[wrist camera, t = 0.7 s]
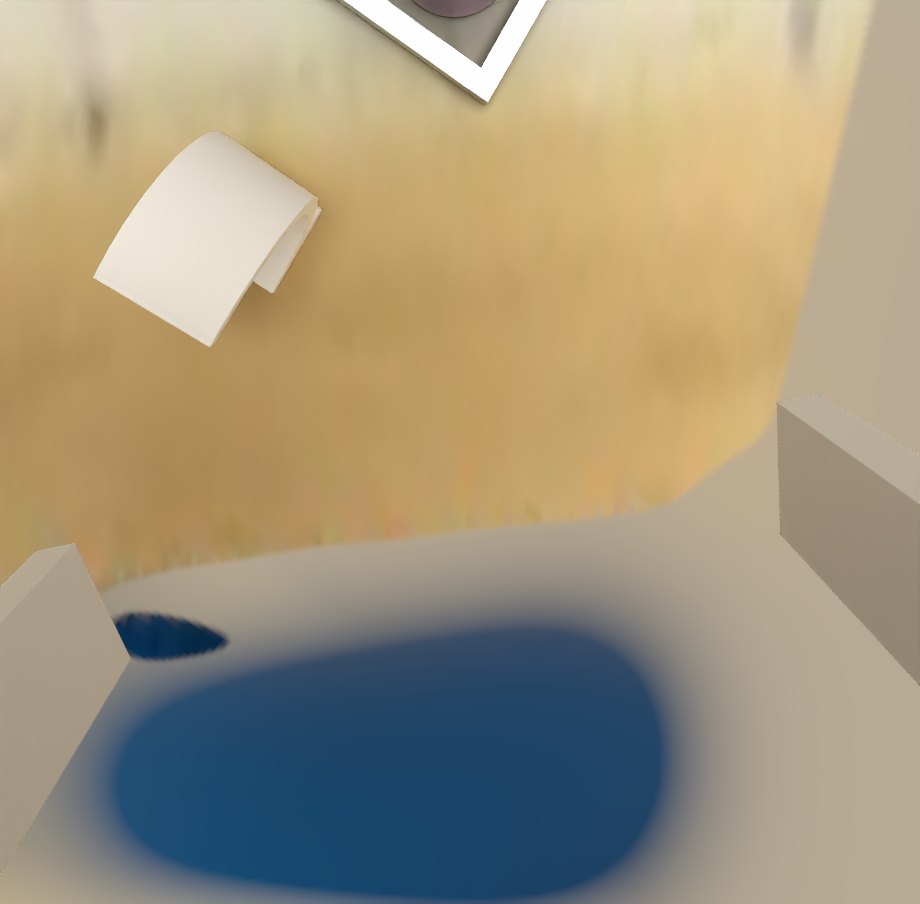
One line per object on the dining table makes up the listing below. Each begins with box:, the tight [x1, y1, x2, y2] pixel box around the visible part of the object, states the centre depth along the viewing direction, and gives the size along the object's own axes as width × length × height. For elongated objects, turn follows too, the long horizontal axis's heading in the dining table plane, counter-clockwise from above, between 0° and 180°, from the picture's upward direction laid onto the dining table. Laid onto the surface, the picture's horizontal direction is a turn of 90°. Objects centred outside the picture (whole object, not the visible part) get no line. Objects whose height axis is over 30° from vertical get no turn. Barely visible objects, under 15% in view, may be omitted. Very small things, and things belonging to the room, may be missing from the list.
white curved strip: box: [93, 131, 323, 347], centre depth 30 cm, size 5×6×12 cm
